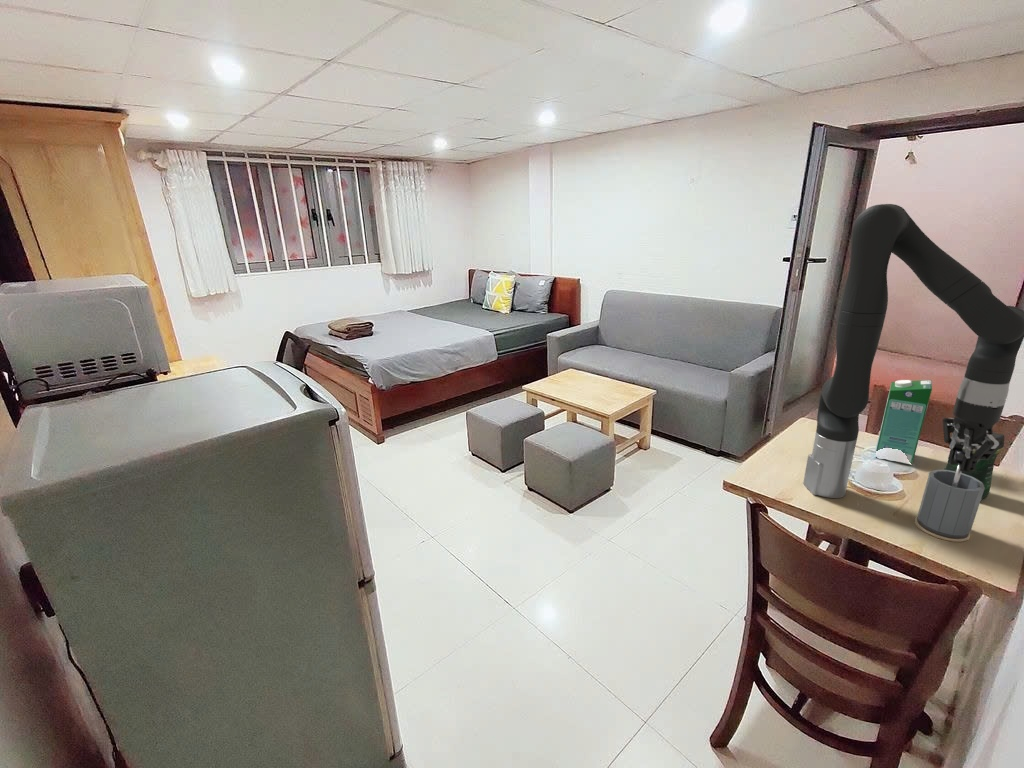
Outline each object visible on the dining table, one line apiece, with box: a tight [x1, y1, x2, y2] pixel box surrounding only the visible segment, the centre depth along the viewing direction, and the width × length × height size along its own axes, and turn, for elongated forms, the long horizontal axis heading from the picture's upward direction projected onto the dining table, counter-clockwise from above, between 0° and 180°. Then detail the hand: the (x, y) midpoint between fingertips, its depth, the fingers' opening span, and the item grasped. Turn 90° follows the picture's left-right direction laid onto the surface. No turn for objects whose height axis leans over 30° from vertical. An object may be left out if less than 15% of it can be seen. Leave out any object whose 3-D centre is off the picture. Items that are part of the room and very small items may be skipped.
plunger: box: [952, 449, 973, 487], centre depth 109 cm, size 7×7×19 cm
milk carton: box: [875, 379, 933, 465], centre depth 142 cm, size 9×9×25 cm
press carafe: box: [914, 469, 985, 543], centre depth 111 cm, size 10×10×14 cm
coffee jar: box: [943, 431, 1005, 500], centre depth 124 cm, size 10×8×19 cm
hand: (960, 467), depth 107 cm, fingers closed on plunger, 3 cm apart
